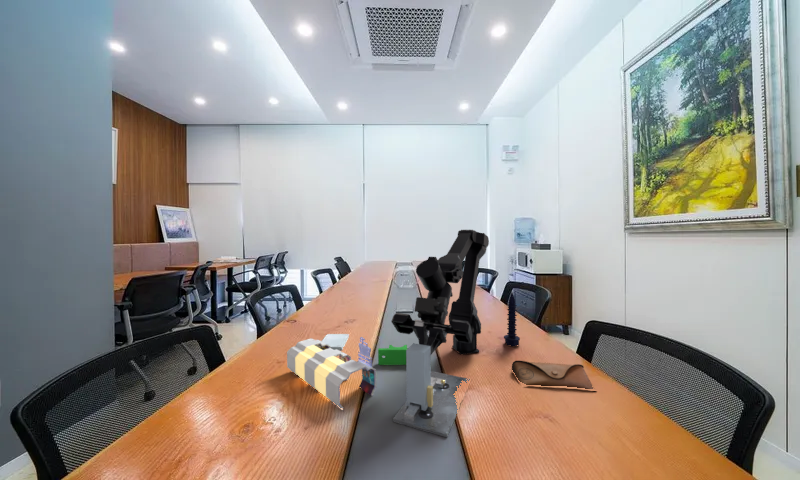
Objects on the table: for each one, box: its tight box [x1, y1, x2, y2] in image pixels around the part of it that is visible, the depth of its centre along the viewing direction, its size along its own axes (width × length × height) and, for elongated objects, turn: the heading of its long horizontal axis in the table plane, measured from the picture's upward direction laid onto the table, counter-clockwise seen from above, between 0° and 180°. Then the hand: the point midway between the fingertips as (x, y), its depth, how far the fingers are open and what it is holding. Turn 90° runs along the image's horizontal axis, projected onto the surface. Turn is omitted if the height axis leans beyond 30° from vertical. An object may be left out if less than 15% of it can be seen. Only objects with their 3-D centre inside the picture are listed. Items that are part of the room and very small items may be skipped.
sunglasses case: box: [511, 360, 594, 389], centre depth 74 cm, size 18×7×7 cm, turn 82°
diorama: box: [286, 336, 377, 408], centre depth 74 cm, size 25×10×13 cm, turn 45°
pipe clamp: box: [377, 344, 409, 366], centre depth 85 cm, size 11×4×5 cm, turn 89°
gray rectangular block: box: [405, 342, 433, 411], centre depth 63 cm, size 4×5×12 cm
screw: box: [503, 291, 521, 347], centre depth 97 cm, size 18×5×5 cm
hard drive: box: [321, 333, 350, 351], centre depth 100 cm, size 2×8×12 cm
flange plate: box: [392, 370, 471, 438], centre depth 66 cm, size 22×11×2 cm, turn 155°
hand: (422, 362), depth 65 cm, fingers closed, pressing on gray rectangular block
